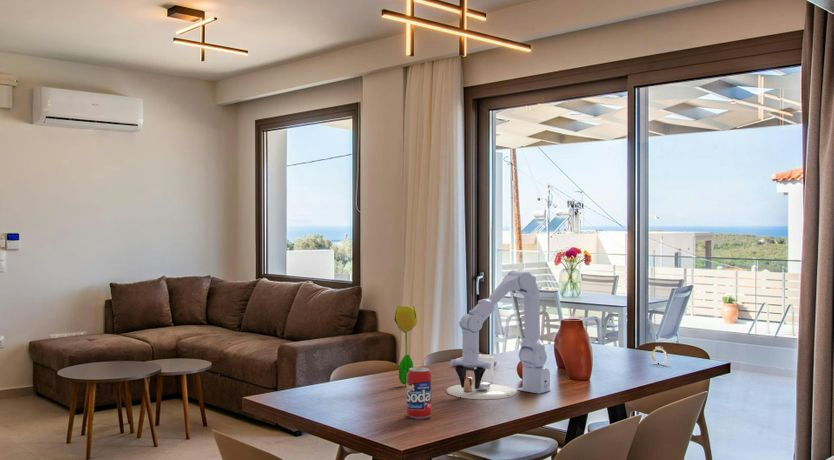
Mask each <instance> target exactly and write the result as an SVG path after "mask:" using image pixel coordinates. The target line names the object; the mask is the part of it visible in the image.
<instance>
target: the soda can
mask: <svg viewBox="0 0 834 460" xmlns="http://www.w3.org/2000/svg"><path fill="white" fill-rule="evenodd" d="M432 406H433V374H432V373H431V369H430V368H428V367H419V366H417V367H413V368H410V369H409V372H408V373H407V384H406V415H407V416H408V417H409V418H411V419H413V418H414V420H425V419H428V418H430V417H431V416H432V415H433V414H432V413H433V407H432Z"/></svg>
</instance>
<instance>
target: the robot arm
mask: <svg viewBox="0 0 834 460" xmlns="http://www.w3.org/2000/svg"><path fill="white" fill-rule="evenodd" d="M515 291H518V292H519V294H521V295H522V296H523V301H524V302H523V303H524V305H523V307H524V308H523V309H524V314H523V315H524V318H523V319H524V323H523V324H524V339H523V340H522V341H521V342H520V349H519V352H518V358H519V360H520V362H521V365H522V387H519V388H517V390H518V391H523V392H527V393H528V392H529V393H535V394H543V393H546V392H550V391H551V390H552V389H551V383H550V382H551V379H550V378H551V373H550V370H549V368H547V367H544V365H546V362H547V360H548V354H547V352H546V350H545V347H546V346H545V345H544V343H543V342H542V341H541V337H540V336H541V333H540V332H541V326H540V323H541V322H540V317H541V315H540V307H541V306H540V304H541V303H540V289H539V287H538V284H537V277H536V276H535V275H534V274H533V273H532V272H530V271H517V270H511V271H509V272H508V273H507V275H505V276H504V277H503V279H502V281H501V282H500V283H499V284H498V285H497V287H496V288H495V289H494V291H492V292H491V294H490V295H489V296H488V298H483V299H479V300H478V301H477V304H476V305H475V306H474V307H473V308H472V309H470V310H469V311H468V313H467V314H464V315H463V316H462V317H461V319H460V321H459V323H458V324H459V327H460V329H461V334H462V342H461V343H462V345H461V346H462V349H461V350H462V352H461V353H462V355H461V357H462V360H455V359H450V362H449V363H450V366H452V367H453V366H455V368H454V370H455V372H456V374H457V376H458V379H459V381H460V384H461V387H462V388H464V377H467V370H468V368H467V367H474V368H477V369H473V373H474V381H475V389H479V386H480V382H481V379H482V376H483V374H484V372H485V370H486V369H491V363H487V362H481V361H479V355H480V330H481V329H482V328H483V324H484V322H485V321H486V320H487V318H488V317H489V316H490V315H491V314H492V313H493V312H494V311H495V306H496V305H497V304H498V303H499V302H500V301H501V300H502V299H503V298H504V297H505V296H506V295H508V293H510V292H515ZM472 365H475V366H472Z"/></svg>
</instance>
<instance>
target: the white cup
mask: <svg viewBox="0 0 834 460" xmlns="http://www.w3.org/2000/svg"><path fill="white" fill-rule="evenodd" d="M479 361H481V362H487V363H491V369H486V370H485V372H484V374H483V376H482V379H481V381H487V382H490V384H493V382H494V369H495V367H494V361H495V356H494V355H492V354H481V353H479ZM474 366H475V365H474ZM474 369H477V368H474ZM474 369H473V370H474Z"/></svg>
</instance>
